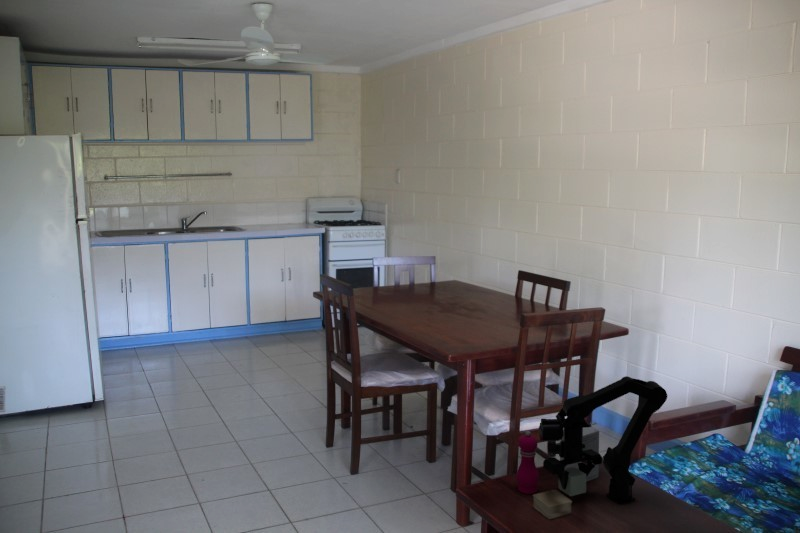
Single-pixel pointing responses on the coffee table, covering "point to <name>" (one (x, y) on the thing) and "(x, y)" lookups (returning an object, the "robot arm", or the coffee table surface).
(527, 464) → the pepper mill
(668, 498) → the coffee table surface
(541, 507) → the oak box
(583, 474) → the sage block
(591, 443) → the supplement box
